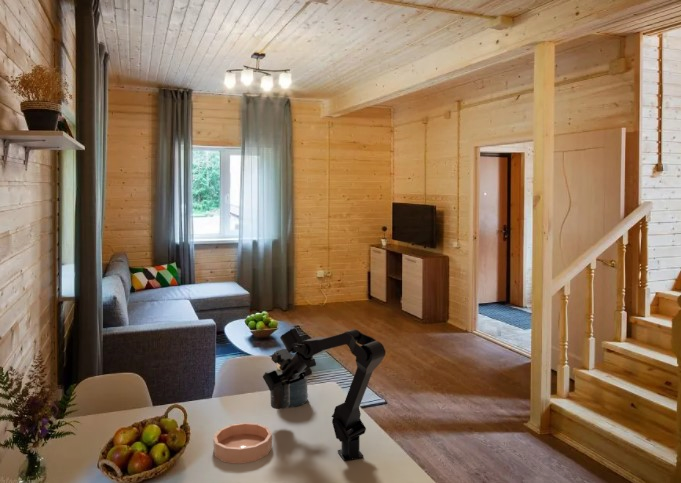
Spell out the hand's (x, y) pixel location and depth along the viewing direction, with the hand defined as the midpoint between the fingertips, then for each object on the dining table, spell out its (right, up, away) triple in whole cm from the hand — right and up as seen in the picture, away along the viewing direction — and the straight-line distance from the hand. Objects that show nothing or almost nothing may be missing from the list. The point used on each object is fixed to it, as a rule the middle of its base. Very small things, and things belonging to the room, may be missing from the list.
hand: (277, 386), depth 190 cm
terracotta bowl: (-9, -15, -18) cm, 25 cm away
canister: (+3, -11, +21) cm, 24 cm away
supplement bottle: (+1, -7, 0) cm, 7 cm away
